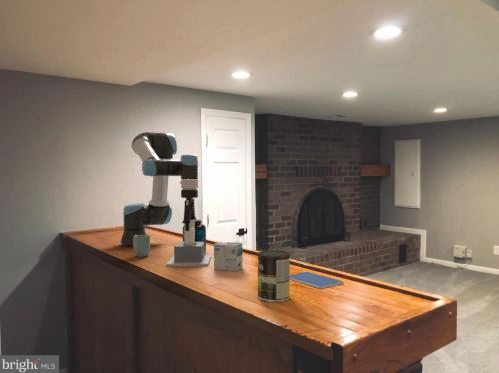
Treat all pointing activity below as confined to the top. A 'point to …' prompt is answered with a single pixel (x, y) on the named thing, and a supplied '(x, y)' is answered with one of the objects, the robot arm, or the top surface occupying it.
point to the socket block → (189, 255)
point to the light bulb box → (228, 256)
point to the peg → (191, 240)
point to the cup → (141, 245)
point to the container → (199, 233)
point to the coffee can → (273, 275)
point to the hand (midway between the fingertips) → (189, 236)
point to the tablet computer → (315, 280)
